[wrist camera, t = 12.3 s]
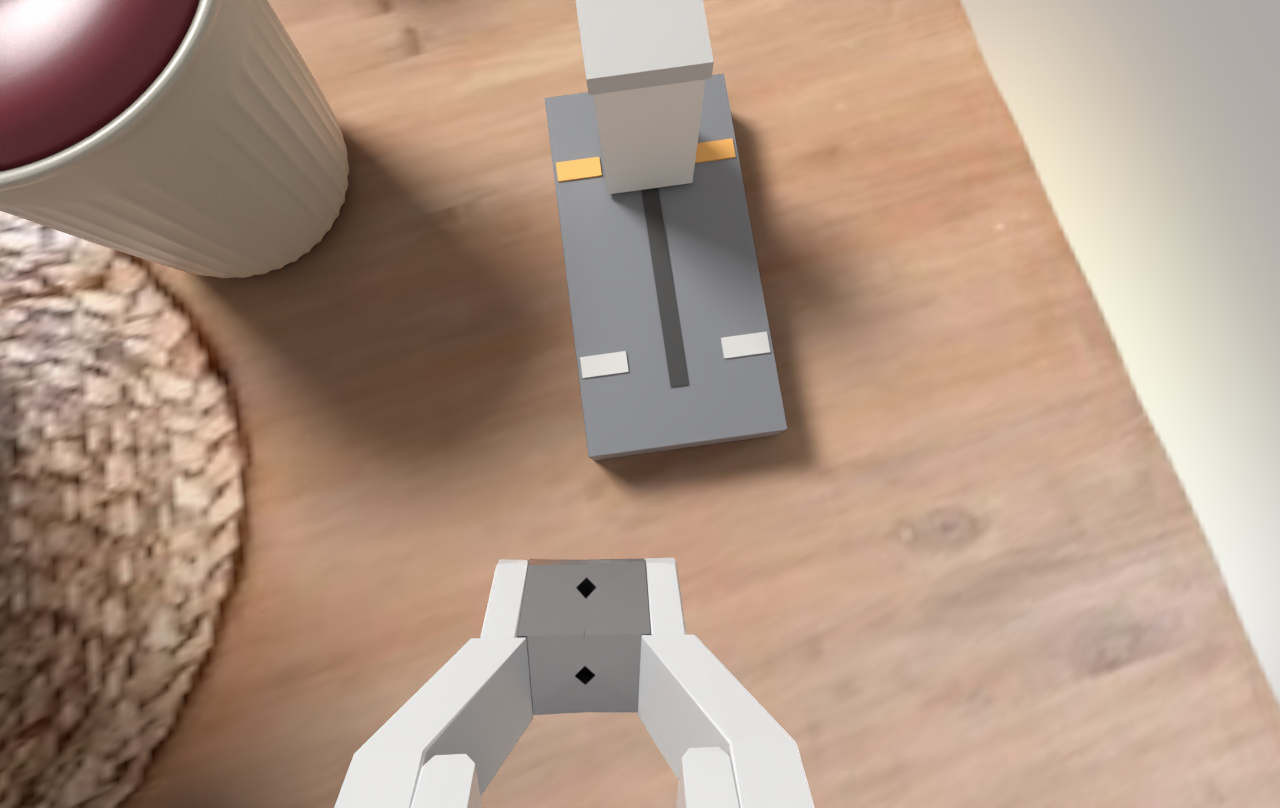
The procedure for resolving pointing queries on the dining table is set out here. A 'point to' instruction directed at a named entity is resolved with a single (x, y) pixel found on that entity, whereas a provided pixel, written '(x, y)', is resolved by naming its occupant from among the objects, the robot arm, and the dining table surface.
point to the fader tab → (646, 87)
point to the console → (664, 293)
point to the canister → (167, 131)
